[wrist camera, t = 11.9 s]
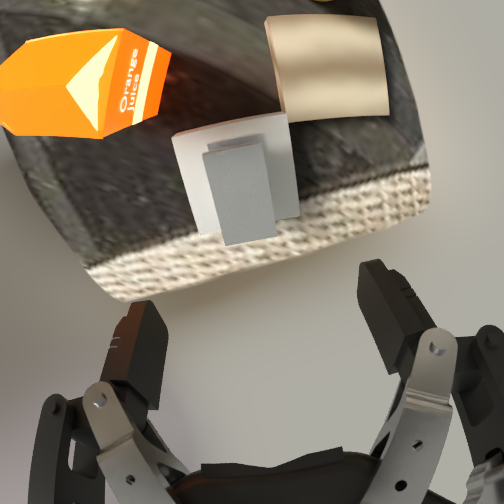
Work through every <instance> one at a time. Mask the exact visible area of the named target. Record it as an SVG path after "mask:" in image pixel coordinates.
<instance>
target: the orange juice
mask: <svg viewBox="0 0 504 504" xmlns="http://www.w3.org/2000/svg"><path fill="white" fill-rule="evenodd" d="M170 57H171V53H170V52H168V51H166V50H165V49H163V48H161V47H159V46H158V45H156V44H155V43H153V42H151V41H148V40H146V39H144V38H142V37H140V36H138V35H136V34H134V33H132V32H130V31H127V30H125V29H101V30H89V31H80V32H72V33H65V34H58V35H53V36H47V37H42V38H37V39H33V40H29V41H26V43H25V44H24V45H23V46H22V47H21V48H19V49H18V50H17V51H16V52H15V53H14V54H13V55H11V56H10V57H9V58H8V59H7V60H6V61H5V62H4V63H3V64H2V65H1V66H0V124H1V125H2V126H4V127H5V128H6V129H8V130H9V131H10V132H12V133H13V134H14V135H41V136H68V137H84V138H96V139H102V137H105V136H107V135H109V134H111V133H114V132H116V131H118V130H120V129H123V128H125V127H127V126H130V125H134V124H136V123H139V122H141V121H142V120H145V119H147V118H150V117H153V116H155V115H157V114H158V109H159V104H160V99H161V94H162V90H163V85H164V81H165V76H166V72H167V68H168V64H169V60H170Z"/></svg>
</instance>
